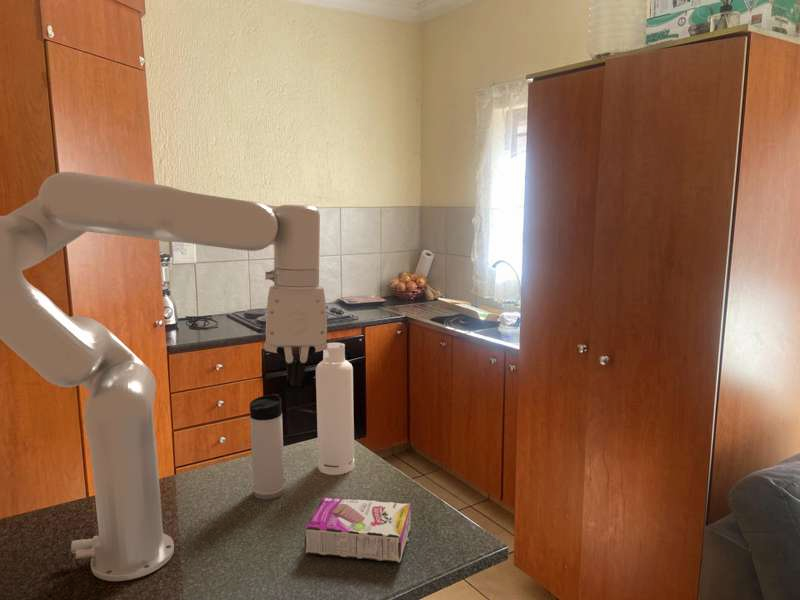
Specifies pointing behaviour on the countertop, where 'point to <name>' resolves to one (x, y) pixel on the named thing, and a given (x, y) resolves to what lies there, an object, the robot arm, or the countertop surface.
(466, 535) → the countertop surface
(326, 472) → the bottle
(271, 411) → the travel mug
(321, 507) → the candy bar box
